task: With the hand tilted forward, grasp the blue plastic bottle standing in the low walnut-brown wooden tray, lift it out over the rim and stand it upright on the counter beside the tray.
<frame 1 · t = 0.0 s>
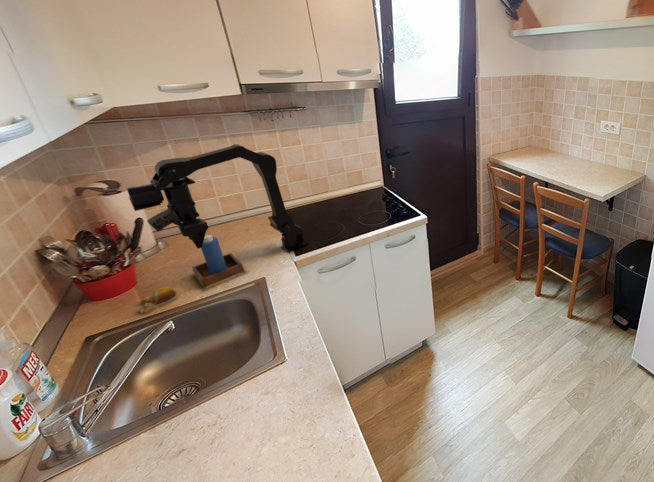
hand: (195, 243, 108), 15 cm above the worktop, tool pointing down, fingers open, 9 cm apart
bottle: (219, 272, 116), point 1 cm above the worktop, touching tray
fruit: (156, 302, 103), on the worktop
tray: (220, 274, 116), on the worktop
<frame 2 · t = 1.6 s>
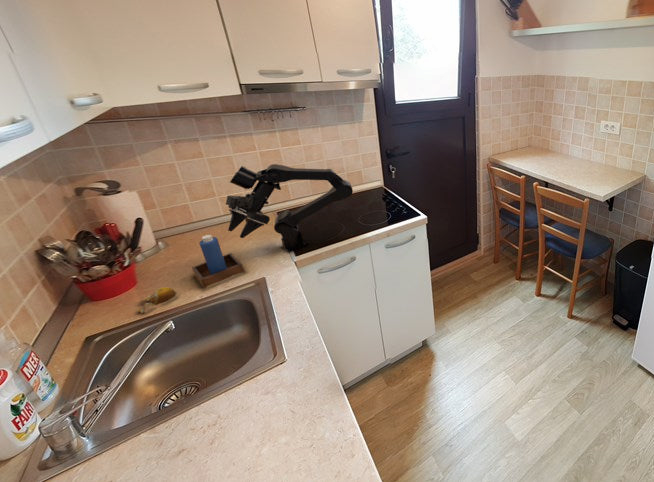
hand: (235, 234, 117), 13 cm above the worktop, tool tilted 45°, fingers open, 9 cm apart
nothing on the worktop moved.
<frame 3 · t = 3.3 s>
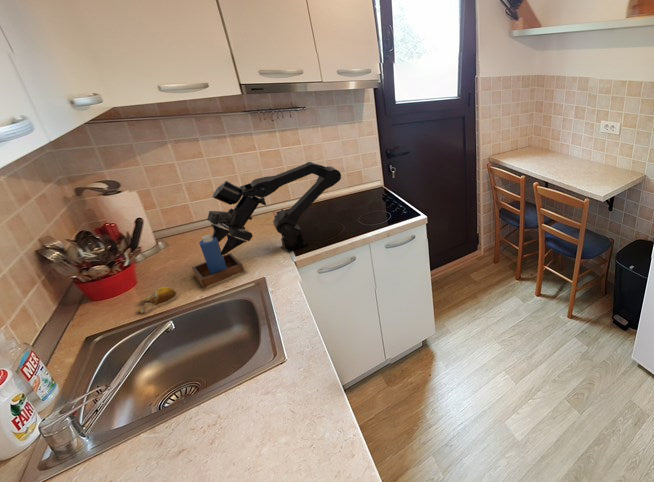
hand: (216, 250, 114), 9 cm above the worktop, tool tilted 45°, fingers open, 9 cm apart
nothing on the worktop moved.
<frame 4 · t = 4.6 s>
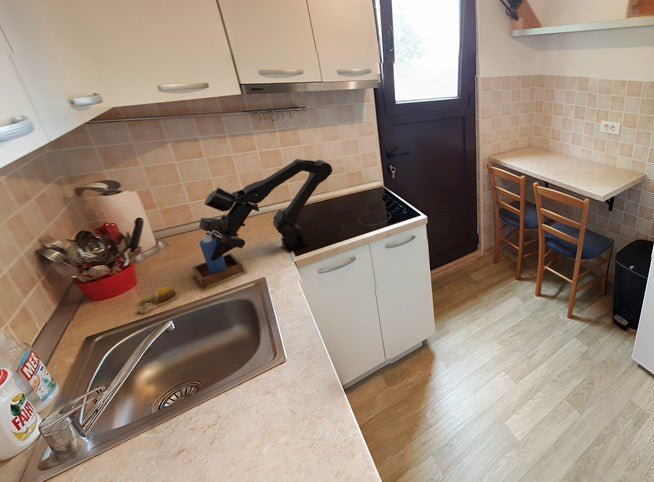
hand: (208, 258, 112), 8 cm above the worktop, tool tilted 45°, fingers closed on bottle, 5 cm apart
bottle: (219, 272, 116), point 1 cm above the worktop, touching gripper, tray
everything else where it was.
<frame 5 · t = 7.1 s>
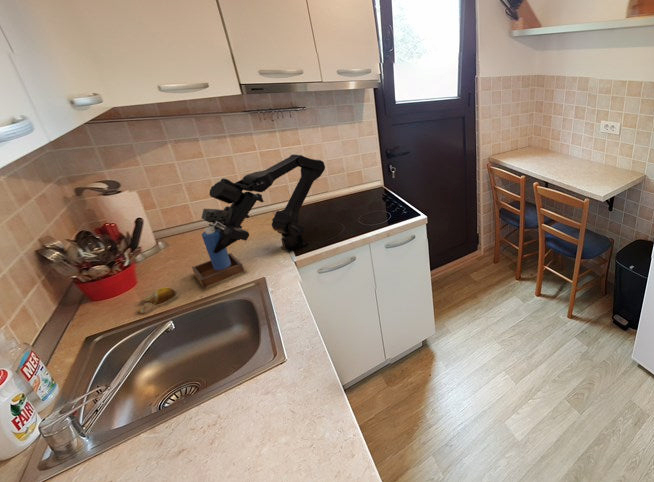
hand: (211, 250, 108), 13 cm above the worktop, tool tilted 45°, fingers closed on bottle, 5 cm apart
bottle: (222, 266, 111), point 6 cm above the worktop, touching gripper
everything else where it was.
when the fingers open (7 cm above the worktop, at t = 9.7 s): bottle stays where it is, on the worktop.
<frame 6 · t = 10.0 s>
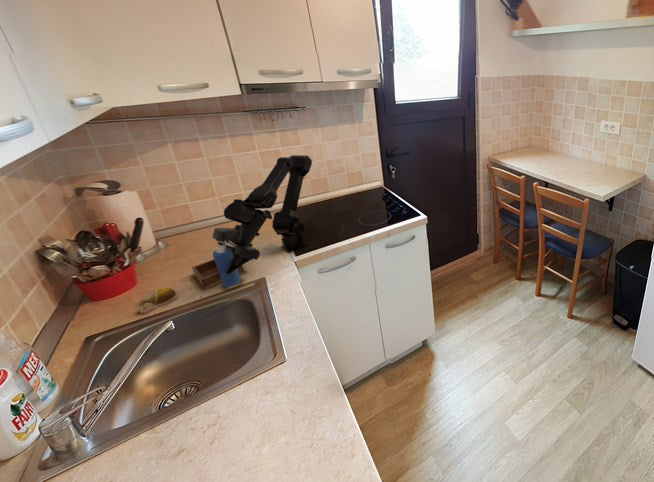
hand: (222, 269, 107), 7 cm above the worktop, tool tilted 45°, fingers open, 7 cm apart
bottle: (232, 284, 111), on the worktop
everything else where it was.
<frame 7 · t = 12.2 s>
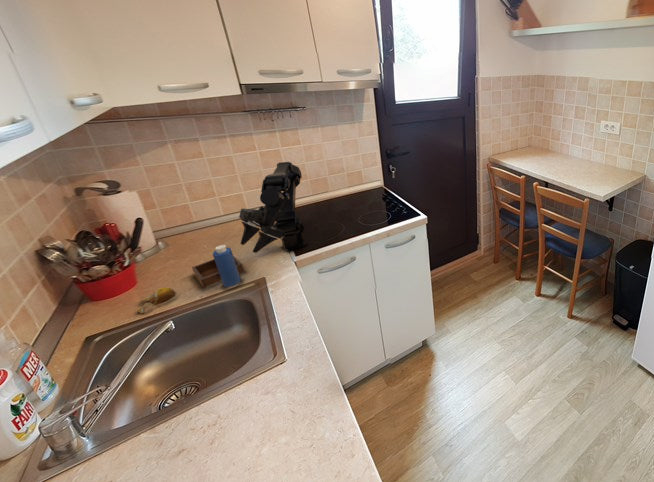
hand: (247, 248, 114), 10 cm above the worktop, tool tilted 45°, fingers open, 9 cm apart
nothing on the worktop moved.
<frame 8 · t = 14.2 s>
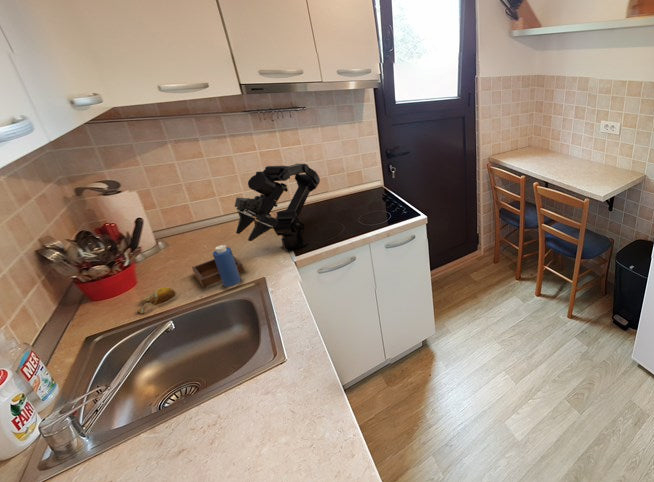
hand: (243, 237, 115), 13 cm above the worktop, tool tilted 45°, fingers open, 9 cm apart
nothing on the worktop moved.
at the end: bottle inside the target area (0.9 cm from its centre), on the worktop; bottle tilted 0°; the gripper is holding nothing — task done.
